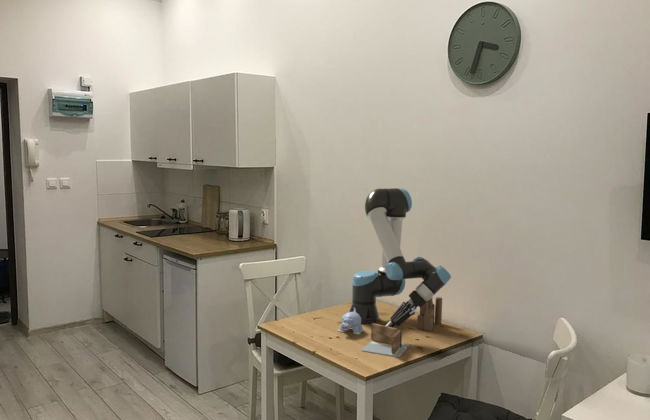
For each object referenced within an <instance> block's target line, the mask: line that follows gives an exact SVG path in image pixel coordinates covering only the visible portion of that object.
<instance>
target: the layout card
mask: <svg viewBox="0 0 650 420" xmlns="http://www.w3.org/2000/svg"><path fill="white" fill-rule="evenodd" d="M409 346H410V345H409V344H404V343H402V344H401V347H400V348H399V349H398V350H397V351H396V353H395V354H392V353H391V350H392V345H391V344H387V343H383V342H379V341H375V340H370V342H368V343H367V344H366V345H365V346H364V347H363V348H362V349H361V352H366V353H371V354H378V355H383V356H389V357H394V358H400V357H401V356H402V355H403V354H404V352H406V350H407V349H408V348H409ZM407 347H408V348H407ZM402 353H403V354H402Z"/></svg>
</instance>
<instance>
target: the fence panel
mask: <svg viewBox="0 0 650 420" xmlns="http://www.w3.org/2000/svg"><path fill="white" fill-rule="evenodd" d="M370 330H371V331H370V333H371V334H370V338H371V339H370V341H372V340H375V341H379V342H383V343H387V344H391V345H392V336H393V335H394V334H395V333H396V332H397V331H398V330H399V329H398V327H397V328H396V327H394V328H392V327H388V326H386V325H383V324H378V323H375V322H374V323H371V329H370Z"/></svg>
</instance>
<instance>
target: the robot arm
mask: <svg viewBox="0 0 650 420" xmlns="http://www.w3.org/2000/svg"><path fill="white" fill-rule="evenodd" d="M412 201H413V199H412V197H411V194H410V192H409V191H408V190H407V189H405V188H397V187H396V188H395V187H394V188H376V189H374V190H372V191H370V193H369V194H367V196H366V199H365V203H364V210H365V214H366V217H367V219H368V220H370V221H371V224H372V227H373V229H374V231H375V234H376V236H377V239H378V241H379V244H380V246H381V250H382V252H381V262H380V263H381V265H380V266H379V267H378V268H377V271H375V270H362V271H358V272H356V273H354V275H353V276H352V283H351V284H352V289H351V290H352V295H351V296H352V297H351V300H352V301H351V306H350V308H349V311H348V312H353V311H354V308H355V309H356V313H358V314H359V315H360V317H361V323H360V324H372V323H374V324H375V323H377V322H378V321H379V320H380V313H379V311H378V308H377V298H383V297H393V296H398V295H401V294H402V293H403V291H404V290H405V288H406V287H405V286H406V279H407V280H408V279H409V280H410V279H422V280H423V281H422V282H420V283H419V284H418V285H417V286H416V287H415V290H413V291H411V292H410V293H409V295H408V297H409V299H408V300H407V301H403V302H402V303H401V304H400V306H399V307H398V308H397V309H396V310H395V312H393V314H392V315H391V316H390V320H389V321H388V322H387V324H386V325H385V326H388V327H392V328H396V327H399V326H400V325H402V324H404V323H405V322H406V321H407V320H408V319H409V318H411V317H412V316H414V315H415V314H416V312H415V311H416V310H417V308H418V307H419V309H420V308H422V307H423V306H424V305H425V304H426V301H429V300H430V299H431V298H432V299H434V296H435V295H436V293H438V292H439V291H440V290H441V289H442V288H443V287H444V286H446V285H447V283H448V282H449V281H450V280H451V279H452V275H451V274H450V272H448V270H447V269H446V268H445V267H443V266H442V265H438V266H437V267H436V266H434V265H433V264H432V263H431V262H430V261H429V260H427V259H426V258H424V257H421V256H418V257H415V258H414V259H413V260H412V261H406V259H405V257H404V254H403V252H402V250H401V242H402V241H401V240H402V230H403V229H402V228H403V220H404V219H405V218H406V217H407V213H409V212H410V211H411V210H412V205H413V202H412Z"/></svg>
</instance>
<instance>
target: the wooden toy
mask: <svg viewBox="0 0 650 420" xmlns="http://www.w3.org/2000/svg"><path fill="white" fill-rule="evenodd" d="M442 316H443V297H441V296H436V297H435V302H434V301H433V298H431V299H430V300H429V301H426V304H425V305H424V306H423V307H422V308H420V307H419V314H418V315H417V322H416V323H417V325H416V329H417V330H422V331H427V332H432V330H433V325H434V324H435V325H441V324H442Z"/></svg>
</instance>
